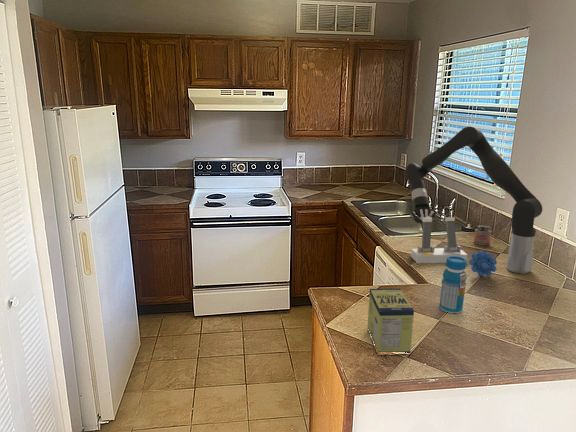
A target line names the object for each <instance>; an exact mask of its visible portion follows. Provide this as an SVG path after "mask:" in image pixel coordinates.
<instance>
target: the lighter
mask: <svg viewBox="0 0 576 432" xmlns="http://www.w3.org/2000/svg"><path fill="white" fill-rule="evenodd" d="M491 229H492V228H491V226H485V225H477V228H475V229H474V238H473V242H472V243H473V244H474V245H481V246H490V245H491V243H490V241H491V235H492V233H493V231H492V230H491Z"/></svg>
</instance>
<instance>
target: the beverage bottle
mask: <svg viewBox="0 0 576 432" xmlns="http://www.w3.org/2000/svg"><path fill="white" fill-rule="evenodd" d="M445 266H446V269H445V270H444V271H443V273H442V279H441V287H440V288H441V290H440V298H439V299H440V300H439V306H438V307H439V308H440V310H441V311H443V312H444V313H447V312H448V314H453V313H456V314H460V313H461V312H463V308H464V301H465V292H466V287H467V282H466V281H467V277H468V276H467V273H466V272H465V270H466V268H467V262H466V259H464V258H462V257H458V256H449V257H447V260H446V263H445Z"/></svg>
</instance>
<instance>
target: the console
mask: <svg viewBox="0 0 576 432" xmlns="http://www.w3.org/2000/svg"><path fill="white" fill-rule="evenodd" d="M456 247H457V248H458V251H448V245H444V246H443V247H441V248H440V247H435V246H433V245H430V248H431V252H421V251H422V245H417V248H410V249H411V251H410V257H411V258H412V259H413V261H416V262H415V263H416V264H446V260H447V257H449V256H458V257H462V258H464V259H466V263H467V260H468V254H467V253H466V252H465V251H464V250H462V246H460V245H459V244H458V245H457V244H456Z"/></svg>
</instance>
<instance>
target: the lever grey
mask: <svg viewBox="0 0 576 432" xmlns="http://www.w3.org/2000/svg"><path fill="white" fill-rule="evenodd" d="M444 218H445V219H444V220H445V221H444V222H445V224H446V225H445V226H446V241H447V246H448V251H458V248H457V237H456V226H455V225H456V224H455V223H456V218H455V216H452V217H451V216H448V217H447V216H446V217H444Z"/></svg>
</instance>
